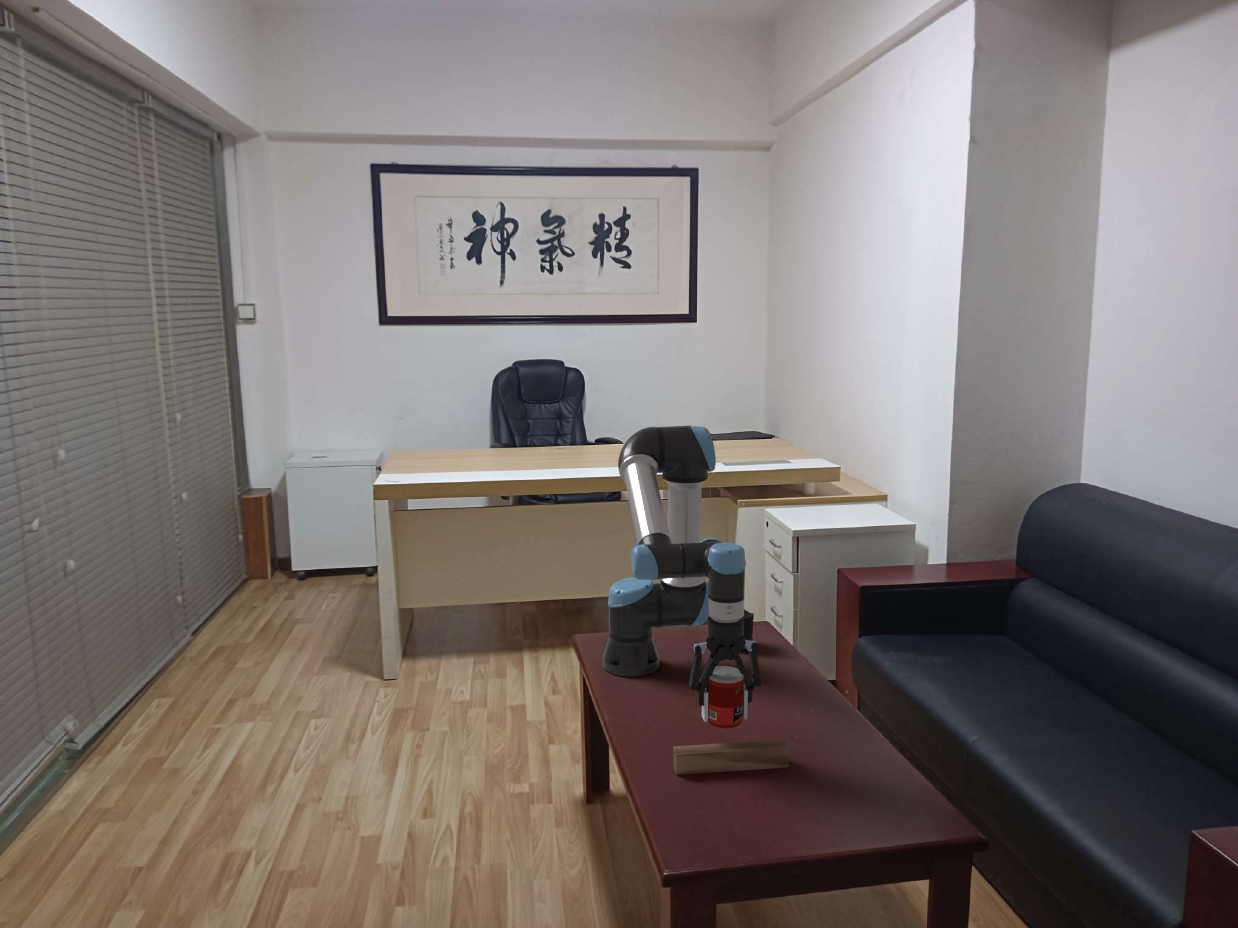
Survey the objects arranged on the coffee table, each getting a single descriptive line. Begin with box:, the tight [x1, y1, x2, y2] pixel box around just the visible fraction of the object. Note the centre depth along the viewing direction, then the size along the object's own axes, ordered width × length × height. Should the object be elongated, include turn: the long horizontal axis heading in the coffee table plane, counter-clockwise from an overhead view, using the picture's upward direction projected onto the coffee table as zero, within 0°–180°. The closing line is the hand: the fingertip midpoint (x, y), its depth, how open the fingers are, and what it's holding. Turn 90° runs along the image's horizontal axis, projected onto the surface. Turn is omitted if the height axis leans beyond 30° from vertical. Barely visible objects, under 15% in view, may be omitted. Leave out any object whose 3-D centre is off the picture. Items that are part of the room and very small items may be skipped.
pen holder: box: [740, 608, 755, 653], centre depth 250 cm, size 9×9×10 cm
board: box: [672, 738, 791, 776], centre depth 187 cm, size 4×24×4 cm, turn 97°
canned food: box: [706, 665, 745, 729], centre depth 191 cm, size 8×8×11 cm
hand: (724, 717), depth 192 cm, fingers closed on canned food, 8 cm apart
